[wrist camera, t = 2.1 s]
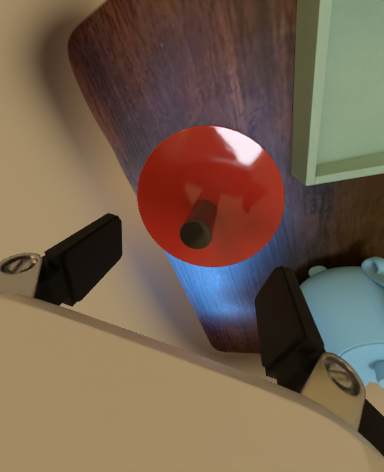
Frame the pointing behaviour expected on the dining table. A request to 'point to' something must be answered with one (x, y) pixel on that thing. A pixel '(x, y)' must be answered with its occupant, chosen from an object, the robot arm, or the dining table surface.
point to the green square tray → (338, 90)
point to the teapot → (351, 314)
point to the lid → (210, 196)
